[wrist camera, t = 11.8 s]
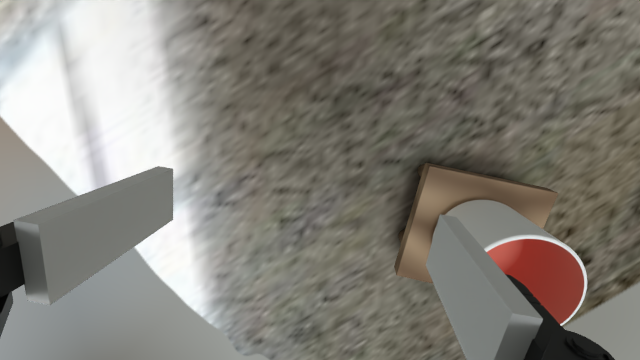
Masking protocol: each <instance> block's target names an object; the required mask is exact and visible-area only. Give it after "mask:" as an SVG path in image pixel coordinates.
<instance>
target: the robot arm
mask: <svg viewBox="0 0 640 360" xmlns="http://www.w3.org/2000/svg"><path fill="white" fill-rule="evenodd" d="M172 220H173V169H171V168H165V167H159V166H158V167H155V168H153V169H150V170H147V171H144V172H142V173H139V174H136V175H134V176H131V177H128V178H126V179H123V180H120V181H118V182H115V183H112V184H109V185H107V186H104V187H101V188H99V189H96V190H93V191H91V192H88V193H85V194H82V195H80V196H77V197H74V198H72V199H69V200H66V201H64V202H61V203H58V204H56V205H53V206H50V207H47V208H45V209H42V210H39V211H37V212H34V213H31V214H29V215H26V216H23V217H21V218H18V219H15V220H14V222H11V223H9V224H6V225H4V226H1V227H0V336H1V334H2V331H3V328H4V326H5V323H6V320H7V317H8V315H9V312H10V309H11V307H12V304H13V297H12V291H13V290H15V289H17V288H18V287H20V286H22V285H23V284H24V285H25V291H26V297H27V301H31V302H37V303H41V304H46V305H51V304H52V303H54V302H55V301H57V300H58V299H60V298H61V297H63V296H64V295H65V294H67V293H68V292H70V291H71V290H73V289H74V288H75V287H77V286H78V285H80V284H81V283H83V282H84V281H85V280H87V279H88V278H90V277H91V276H93V275H94V274H96V273H97V272H98V271H100V270H101V269H103V268H104V267H105V266H107V265H108V264H110V263H111V262H112V261H114V260H116V259H117V258H118V257H120V256H121V255H122V254H124V253H126V252H127V251H129V250H130V249H131V248H133V247H134V246H136V245H137V244H139V243H140V242H141V241H143V240H144V239H146V238H147V237H149V236H150V235H151V234H153V233H154V232H156V231H157V230H159V229H160V228H162V227H163V226H164V225H166V224H167V223H169V222H170V221H172ZM426 267H427V269H428V272H429V274H430V276H431V279H432V281H433V283H434V285H435V288H436V290H437V292H438V295H439V297H440V299H441V302H442V304H443V306H444V309H445V311H446V313H447V316H448V318H449V320H450V323H451V325H452V327H453V329H454V332H455V334H456V336H457V339H458V341H459V343H460V346H461V348H462V350H463V353H464V355H465V357H466V360H615V359H614V358H613V357H612V356H611V355H610V354H609V353H608V352H607V351H606V350H604V349H603V348H602V347H601V346H599V345H598V344H596V343H595V342H593V341H591V340H590V339H588V338H586V337H584V336H581V335H579V334H577V333H574V332H571V331H567V330H565V329H564V328H563V327H562V326H561V325H560V324H559V323H558V322H557V321H556V319H555V318H554V317H553V316H552V315H551V314H550V313H549V312H548V311H547V310H546V308H545V307H544V306H542V305H541V303H540V302H539V301H538V300H537V298H536V297H533V294H532V293H531V292H530V291H529V290H528V288H527V287H526V286H525V285H524V284H522V283H521V282H519V281H518V280H517V279H515V278H514V277H512V276H511V275H507V274H504V272H503V271H502V270H501V269H500V268H499V266H498V265H497V264H496V263H495V262H494V261H493V259H492V258H491V257H490V256H489V255H488V254H487V252H486V251H485V250H484V249H483V248H482V247H481V245H480V244H479V243H478V242H477V241H476V239H475V238H474V237H473V236H472V235H471V234H470V232H469V231H468V230H467V229H466V228H465V227H464V225H463V224H462V223H461V222H460V221H459V219H458V218H457V217H453V216H447V215H442V214H440V216H439V219H438V223H437V226H436V230H435V234H434V237H433V241H432V244H431V248H430V251H429V255H428V259H427V262H426Z"/></svg>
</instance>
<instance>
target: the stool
mask: <svg viewBox="0 0 640 360" xmlns="http://www.w3.org/2000/svg"><path fill="white" fill-rule="evenodd" d="M418 175H419V176H420V177H421V179H420V182H419V186H418V189H417V192H416V196H415V199H414V202H413V206H412V209H411V212H410V216H409V219H408V222H407V226H406V229H405V230H402V231H400V233H399V240H400V243H401V246H400V249H399V252H398V256H397V259H396V262H395V266H394V267H395V271H396V275H398V276H402V277H407V278H411V279H416V280H420V281H424V282H429V283H433V281H432V279H431V276H430V274H429V272H428V269H427V267H426V262H427V259H428V255H429V251H430V248H431V244H432V239H433V234H434V231H435V228H436V226H437V223H438V219H439V216H440V214H442V215H445V214H446V213H447V212H448V211H450V210H451V209H453V208H454V207H456V206H458V205H460V204H462V203H465V202H468V201H473V200H492V201H496V202H500V203H502V204H505V205H507V206H509V207H510V208H512V209H513V210H515V211H516V212H518V213H519V214H521V215H522V216H524V217H525V218H527V219H528V220H530V221H531V222H533V223H534V224H536V225H537V226H539V227H540V228H542V229H543V227H544V225H545V223H546V220H547V218H548V216H549V213H550V211H551V209H552V207H553V204H554V202H555V200H556V198H557V195H558V193H557V192H554V191H552V190H550V189H548V188H544V187H539V186H535V185H530V184H525V183H520V182H516V181H511V180H506V179H501V178H497V177H492V176H487V175H482V174H477V173H473V172H468V171H463V170H458V169H454V168H449V167H444V166H439V165H435V164H430V163H425V164H422V165H420V166H419V168H418ZM433 284H434V283H433Z"/></svg>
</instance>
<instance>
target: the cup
mask: <svg viewBox="0 0 640 360" xmlns="http://www.w3.org/2000/svg"><path fill="white" fill-rule="evenodd" d="M445 215H447V216H453V217H457V218H458V219H459V221H460V222H461V223H462V224H463V225H464V227H465V228H466V229H467V230H468V231H469V232H470V234H471V235H472V236H473V237H474V238H475V239H476V241H477V242H478V243H479V244H480V245H481V247H482V248H483V249H484V250H485V251H486V252H487V254H488V255H489V256H490V257H491V258H492V259H493V261H494V262H495V263H496V264H497V265H498V266H499V268H500V269H501V270H502V271H503V272H504V274H507V275H511V276H512V277H514V278H515V279H517V280H518V281H519V282H521V283H522V284H524V285H525V286H526V287H527V288H528V290H529V291H530V292H531V293H532V294H533V297H536V298H537V300H538V301H539V302H540V303H541V305H542V306H544V307H545V308H546V310H547V311H548V312H549V313H550V314H551V315H552V316H553V317H554V318H555V319H556V321H557V322H558V323H559V324H560V325H561V326H562V325H563V324H565V323H566V322H567V321H568V320H569V319H570V318H571V317H572V316H573V315H574V314H575V313H576V312H577V310H578V309H579V307H580V306H581V304H582V302H583V300H584V297H585V294H586V290H587V275H586V271H585V267H584V265H583V263H582V261H581V260H580V258H579V257H578V255H577V254H576V253H575V252H574V251H573V250H572V249H571V248H570V247H568V246H567V245H565V244H564V243H562V242H561V241H559V240H558V239H557V238H555V237H554V236H552V235H551V234H549V233H548V232H546V231H545V230H543V229H542V228H540V227H539V226H537V225H536V224H534V223H533V222H531V221H530V220H528V219H527V218H525V217H524V216H522V215H521V214H519V213H518V212H516V211H515V210H513V209H512V208H510V207H509V206H507V205H505V204H502V203H500V202H496V201H492V200H473V201H468V202H465V203H462V204H460V205H458V206H456V207H454V208H453V209H451V210H450V211H448V212H447V213H446V214H445ZM435 230H436V228H435ZM434 234H435V231H434ZM434 234H433V237H434ZM432 241H433V239H432Z"/></svg>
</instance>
